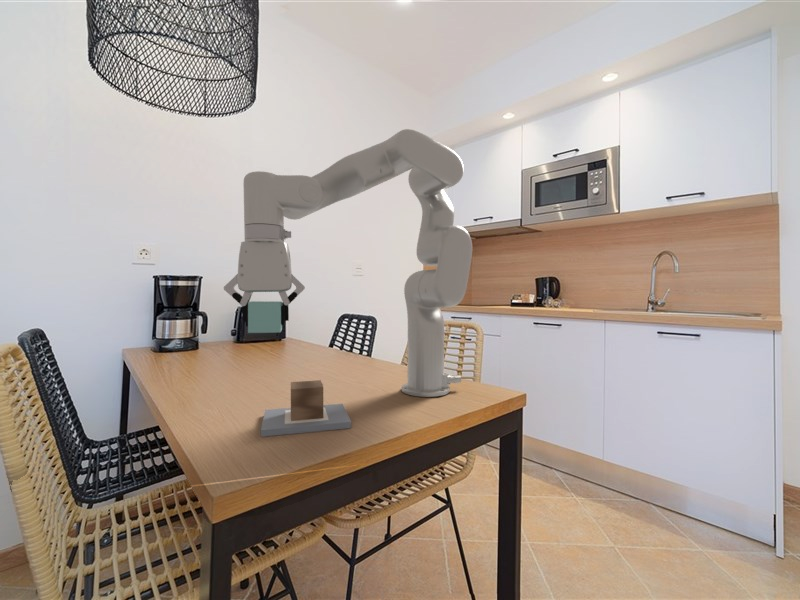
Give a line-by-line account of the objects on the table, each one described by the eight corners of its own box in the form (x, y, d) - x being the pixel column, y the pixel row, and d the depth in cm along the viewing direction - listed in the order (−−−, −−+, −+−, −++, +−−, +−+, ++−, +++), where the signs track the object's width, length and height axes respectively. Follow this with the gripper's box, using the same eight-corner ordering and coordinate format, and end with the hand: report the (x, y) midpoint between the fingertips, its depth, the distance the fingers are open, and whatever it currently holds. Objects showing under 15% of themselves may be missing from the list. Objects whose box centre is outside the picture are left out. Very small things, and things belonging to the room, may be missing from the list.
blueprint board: (342, 409, 82) (342, 403, 82) (351, 427, 70) (351, 421, 70) (265, 415, 77) (265, 409, 77) (260, 436, 66) (260, 429, 66)
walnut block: (320, 408, 78) (320, 380, 78) (323, 418, 72) (323, 387, 72) (290, 411, 76) (290, 382, 76) (290, 421, 70) (290, 389, 70)
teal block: (281, 329, 80) (282, 301, 80) (280, 332, 74) (280, 302, 74) (251, 330, 78) (251, 301, 78) (248, 333, 72) (248, 302, 72)
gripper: (308, 239, 81) (309, 322, 82) (221, 237, 77) (223, 325, 77) (308, 234, 74) (310, 325, 75) (213, 232, 70) (215, 328, 70)
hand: (266, 324), depth 76 cm, fingers closed on teal block, 6 cm apart
